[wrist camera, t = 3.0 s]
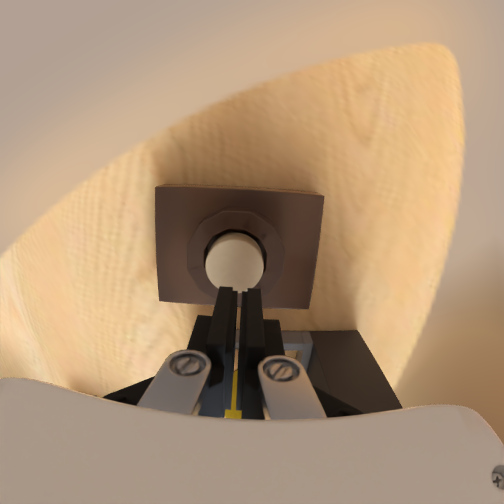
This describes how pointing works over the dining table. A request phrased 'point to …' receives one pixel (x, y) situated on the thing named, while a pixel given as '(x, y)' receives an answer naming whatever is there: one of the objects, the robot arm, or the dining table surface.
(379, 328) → the dining table surface
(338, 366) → the stand
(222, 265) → the button
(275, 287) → the block
